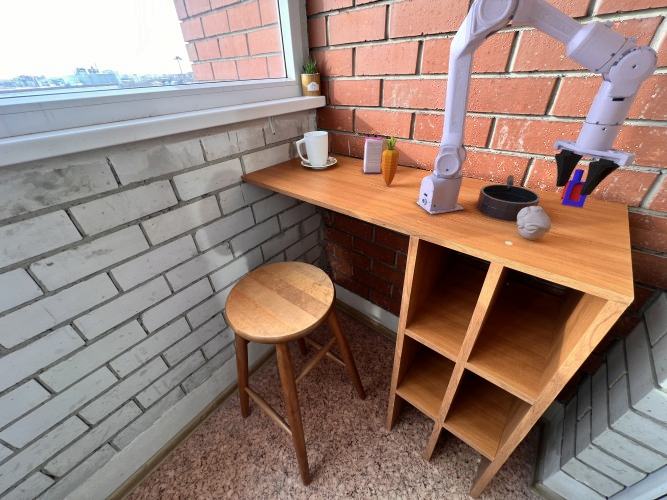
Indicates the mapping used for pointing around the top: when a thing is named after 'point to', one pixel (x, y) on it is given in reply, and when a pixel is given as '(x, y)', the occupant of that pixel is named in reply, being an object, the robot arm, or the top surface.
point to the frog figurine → (533, 222)
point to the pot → (505, 201)
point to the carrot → (389, 161)
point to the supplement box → (372, 155)
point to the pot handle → (510, 181)
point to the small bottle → (574, 191)
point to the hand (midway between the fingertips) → (572, 190)
